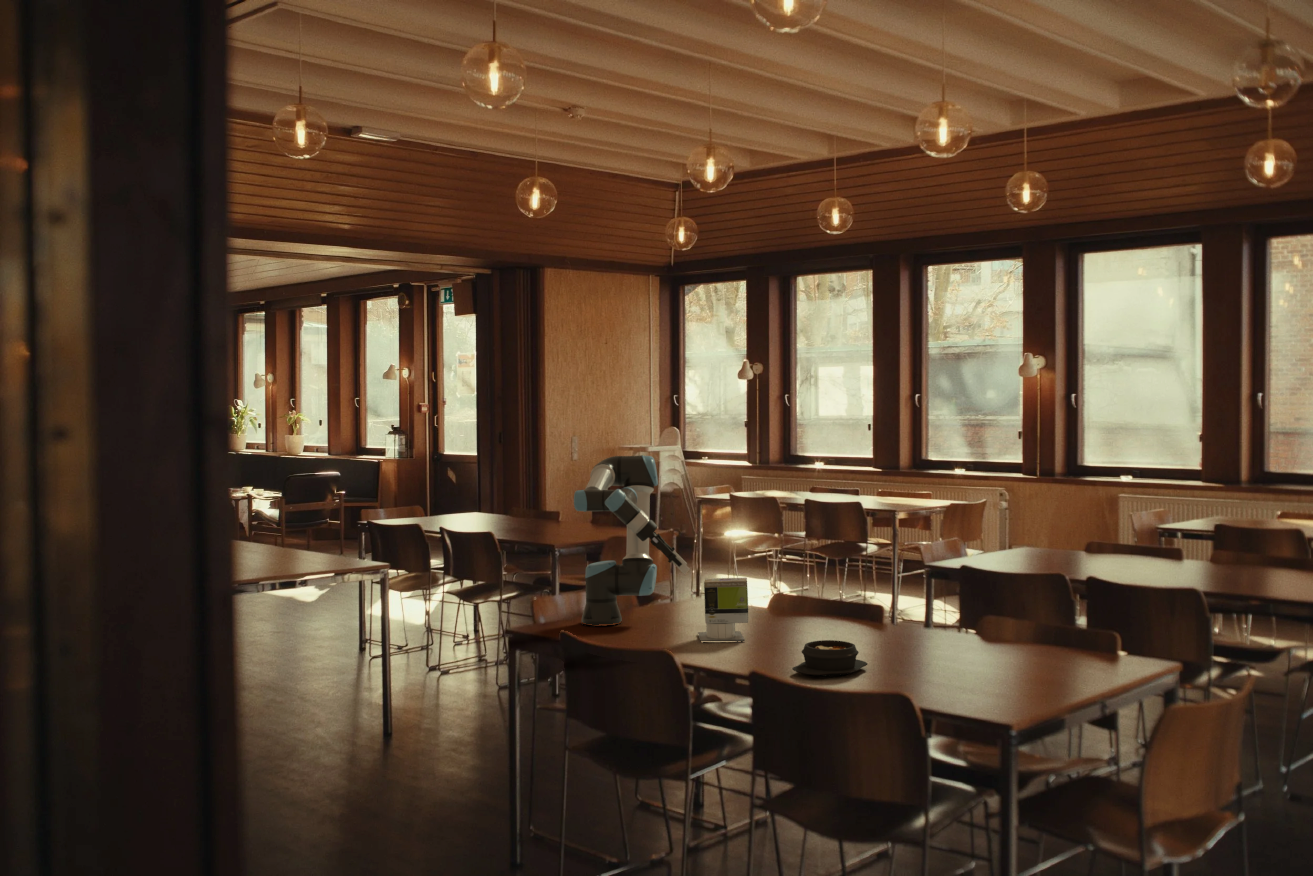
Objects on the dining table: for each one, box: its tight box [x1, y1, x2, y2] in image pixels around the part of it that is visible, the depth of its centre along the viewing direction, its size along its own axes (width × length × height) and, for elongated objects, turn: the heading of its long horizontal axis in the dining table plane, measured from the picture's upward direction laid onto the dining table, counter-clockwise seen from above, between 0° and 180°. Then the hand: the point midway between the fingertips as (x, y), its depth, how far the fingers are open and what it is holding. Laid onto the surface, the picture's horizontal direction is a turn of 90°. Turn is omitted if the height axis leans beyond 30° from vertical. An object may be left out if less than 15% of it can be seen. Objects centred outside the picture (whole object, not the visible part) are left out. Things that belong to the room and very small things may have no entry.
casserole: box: [791, 639, 869, 677], centre depth 341 cm, size 25×19×8 cm
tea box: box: [703, 577, 749, 624], centre depth 396 cm, size 15×10×15 cm
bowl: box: [697, 622, 745, 641], centre depth 397 cm, size 15×15×6 cm
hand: (686, 569), depth 395 cm, fingers open, 13 cm apart
